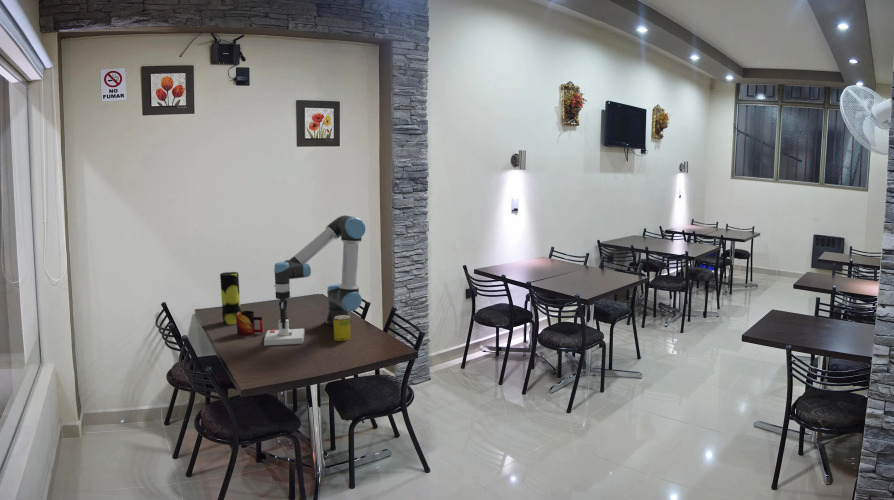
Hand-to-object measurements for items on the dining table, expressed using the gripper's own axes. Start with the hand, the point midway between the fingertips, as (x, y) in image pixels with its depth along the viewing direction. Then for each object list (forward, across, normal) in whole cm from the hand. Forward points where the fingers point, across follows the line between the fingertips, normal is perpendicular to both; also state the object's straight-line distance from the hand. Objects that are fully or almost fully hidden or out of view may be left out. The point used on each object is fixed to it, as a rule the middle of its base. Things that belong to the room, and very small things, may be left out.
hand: (284, 332), depth 338 cm
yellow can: (+4, +4, +31) cm, 32 cm away
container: (+4, -41, -34) cm, 53 cm away
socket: (+4, 0, 0) cm, 4 cm away
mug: (+4, -16, -20) cm, 26 cm away
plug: (+3, 0, 0) cm, 3 cm away
